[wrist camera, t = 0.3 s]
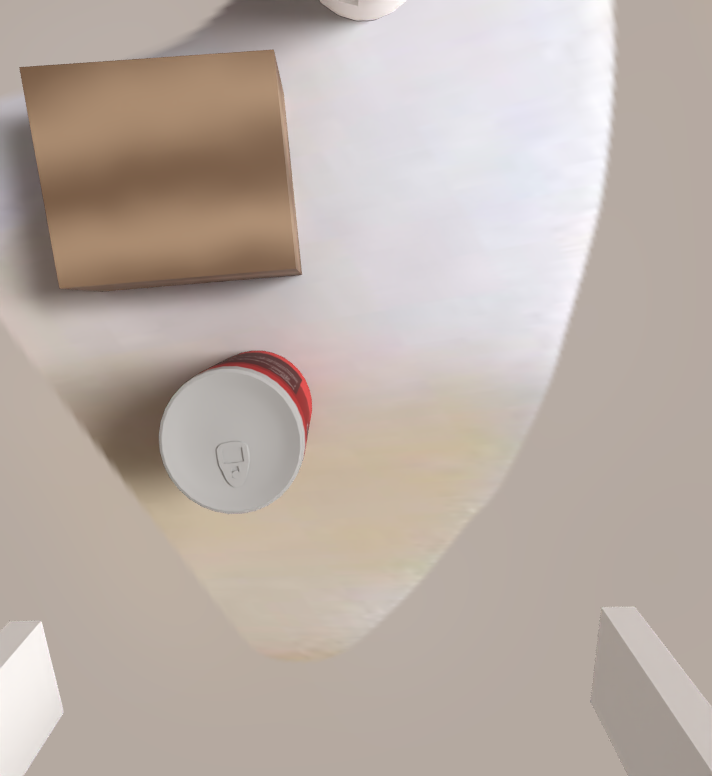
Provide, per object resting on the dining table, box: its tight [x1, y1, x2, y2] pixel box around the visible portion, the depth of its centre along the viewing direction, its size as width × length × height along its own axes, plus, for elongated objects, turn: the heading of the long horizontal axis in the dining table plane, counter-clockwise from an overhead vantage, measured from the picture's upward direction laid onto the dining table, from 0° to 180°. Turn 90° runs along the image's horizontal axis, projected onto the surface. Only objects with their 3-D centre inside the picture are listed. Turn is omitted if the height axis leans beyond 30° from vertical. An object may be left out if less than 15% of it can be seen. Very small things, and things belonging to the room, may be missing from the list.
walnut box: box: [20, 50, 302, 291], centre depth 32 cm, size 12×14×6 cm
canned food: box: [159, 351, 312, 514], centre depth 31 cm, size 8×8×11 cm
